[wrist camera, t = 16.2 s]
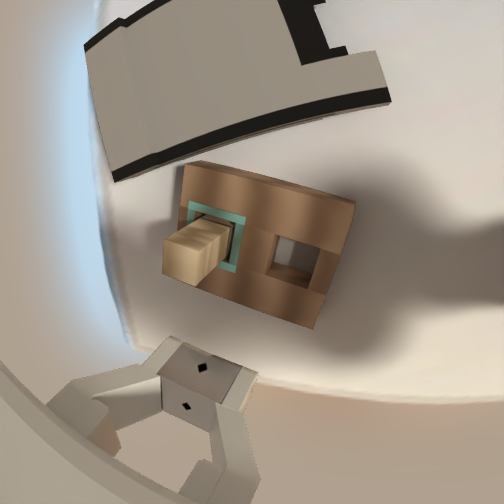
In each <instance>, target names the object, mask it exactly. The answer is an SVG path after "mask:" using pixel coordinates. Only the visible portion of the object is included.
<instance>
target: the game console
mask: <svg viewBox="0 0 504 504" xmlns="http://www.w3.org/2000/svg"><path fill="white" fill-rule="evenodd" d="M321 3H326V1H325V0H154V1H152V2H151V3H149V4H147V5H146V6H144V7H143V8H141V9H140V10H138V11H136V12H135V13H133V14H132V15H130V16H129V17H128V18H126V19H122V18H117V19H116V20H114V21H113V22H112V23H110V24H109V25H108V26H106V27H105V28H104V29H102V30H101V31H100V32H99V33H97V34H96V35H95V36H94V37H92V38H91V39H90V40H89V41H87V42H86V43H85V44H84V50H85V56H86V63H87V69H88V75H89V80H90V85H91V90H92V95H93V100H94V105H95V109H96V114H97V118H98V123H99V127H100V131H101V135H102V139H103V143H104V147H105V150H106V154H107V158H108V162H109V165H110V169H111V172H112V176H113V179H114V182H115V183H116V182H119V181H123V180H126V179H129V178H133V177H137V176H139V175H142V174H144V173H147V172H149V171H152V170H154V169H157V168H159V167H162V166H164V165H167V164H170V163H172V162H175V161H179V160H184V159H186V158H189V157H192V156H195V155H198V154H201V153H204V152H207V151H210V150H213V149H216V148H219V147H222V146H225V145H228V144H231V143H234V142H238V141H241V140H244V139H248V138H251V137H255V136H258V135H262V134H265V133H269V132H272V131H276V130H280V129H284V128H287V127H291V126H295V125H299V124H304V123H308V122H312V121H316V120H321V119H323V118H324V117H328V116H333V115H338V114H343V113H348V112H353V111H358V110H364V109H369V108H375V107H381V106H387V105H389V104H390V103H391V102H392V101H391V97H390V94H389V91H388V87H387V84H386V81H385V78H384V75H383V72H382V69H381V66H380V63H379V60H378V57H377V54H376V51H368V52H362V53H357V54H351V55H348V52H347V49H346V46H341V47H336V48H332V49H329V47H328V44H327V41H326V38H325V36H324V33H323V31H322V28H321V26H320V23H319V21H318V18H317V16H316V13H315V11H314V9H313V5H317V4H321Z"/></svg>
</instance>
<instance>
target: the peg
mask: <svg viewBox="0 0 504 504" xmlns="http://www.w3.org/2000/svg"><path fill="white" fill-rule="evenodd" d="M235 226H236V223H235V222H232V221H228V220H225V219H222V218H218V217H215V216H212V215H208V214H206V215H205V216H203V217H200V218H199V219H198V220H196V221H194V222H192V223H191V224H189V225H187V226H186V227H184V228H182V229H181V230H179V231H177V232H176V233H174V234H172V235H170V236H169V237H167V238H165V239H164V249H163V267H162V274H165V275H167V276H169V277H172V278H174V279H177V280H179V281H182V282H185V283H187V284H190V285H192V286H196V285H197V284H198V283H199V282H200V281H201V280H202V279H203V278H204V277H205V276H206V275H208V274H209V273H210V272H211V271H212V270H213V269H214V268H215V267H216V266H217V265H218V264H219V263H220V262H221V261H222V260H223V259H224V258H226V257H227V255H228V254H229V253H231V248H232V243H233V237H234V232H235Z"/></svg>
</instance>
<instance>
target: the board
mask: <svg viewBox="0 0 504 504" xmlns="http://www.w3.org/2000/svg"><path fill="white" fill-rule="evenodd" d="M354 212H355V202H354V201H351V200H348V199H345V198H341V197H338V196H335V195H332V194H328V193H325V192H322V191H318V190H315V189H312V188H308V187H305V186H301V185H298V184H294V183H291V182H287V181H283V180H280V179H276V178H272V177H268V176H264V175H261V174H257V173H253V172H249V171H245V170H241V169H236V168H232V167H228V166H224V165H220V164H215V163H211V162H206V161H202V160H200V161H196V162H191V163H187V164H185V168H184V175H183V183H182V192H181V200H180V210H179V219H178V230H177V231H179V230H181V229H182V228H184V227H186V226H187V225H189V224H191V223H192V222H194V221H196V220H198V219H199V218H200V217H203V216H205V215H206V214H208V215H212V216H215V217H218V218H222V219H225V220H228V221H232V222H235V223H236V226H235V232H234V237H233V243H232V248H231V253H229V254H228V255H227V257H226V258H224V259H223V260H222V261H221V262H220V263H219V264H218V265H217V266H216V267H215V268H214V269H213V270H212V271H211V272H210V273H209V274H208V275H206V276H205V277H204V278H203V279H202V280H201V281H200V282H199V283H198V284H197V285H196V286H194V287H196V288H199V289H202V290H204V291H207V292H209V293H212V294H215V295H217V296H220V297H223V298H225V299H228V300H231V301H233V302H236V303H239V304H241V305H244V306H247V307H250V308H252V309H255V310H258V311H261V312H263V313H266V314H269V315H272V316H275V317H278V318H281V319H283V320H286V321H289V322H292V323H295V324H298V325H301V326H304V327H307V328H310V329H313V328H314V326H315V323H316V320H317V318H318V315H319V313H320V310H321V308H322V305H323V302H324V300H325V297H326V294H327V292H328V289H329V286H330V283H331V281H332V278H333V275H334V272H335V269H336V267H337V264H338V261H339V258H340V255H341V252H342V249H343V246H344V243H345V240H346V237H347V234H348V231H349V228H350V224H351V221H352V218H353V215H354ZM280 236H283V237H286V238H289V239H292V240H295V241H298V242H302V243H305V244H308V245H311V246H314V247H317V248H320V253H319V256H318V259H317V262H316V265H315V268H314V272H313V275H312V274H309V273H306V272H303V271H300V270H297V269H294V268H291V267H288V266H285V265H282V264H278V263H275V262H274V258H275V254H276V250H277V246H278V242H279V238H280ZM176 280H177V279H176ZM181 282H182V281H181ZM184 283H185V282H184ZM186 284H187V283H186ZM189 285H190V284H189ZM191 286H192V285H191Z"/></svg>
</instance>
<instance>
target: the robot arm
mask: <svg viewBox="0 0 504 504" xmlns="http://www.w3.org/2000/svg"><path fill="white" fill-rule="evenodd" d="M258 373H259V372H256V371H254V370H251V369H248V368H246V367H243V366H241V365H238V364H236V363H233V362H230V361H228V360H225V359H223V358H220V357H218V356H215V355H212V354H210V353H207V352H205V351H203V350H201V349H199V348H197V347H194V346H192V345H190V344H188V343H186V342H183V341H181V340H179V339H177V338H175V337H173V336H170V337H168V338H166V339H165V341H164V342H163V343H162V344H161V345H160V346H159V347H158V348H157V349H156V350H155V351H154V352H153V353H152V355H151V356H150V357H149V358H148V359H147V360H146V361H145V362H144V363H143V364H142V365H141V366H140V365H138V364H135V365H131V366H127V367H124V368H120V369H116V370H112V371H108V372H104V373H100V374H96V375H92V376H87V377H83V378H79V379H74V380H72V381H70V382H69V383H68V384H67V385H66V386H65V387H64V388H63V389H62V390H61V391H60V392H59V393H58V394H56V395H55V396H54V397H53V398H52V399H51V400H50V401H49V402H48V403H47V404H46V405H44V404H43V403H42V402H41V401H40V400H39V399H38V398H37V397H35V396H34V395H33V393H31V392H30V391H29V390H28V389H27V388H26V387H25V386H24V385H23V384H22V383H21V382H20V381H19V380H18V379H17V378H16V377H15V376H14V375H13V373H12V372H11V371H10V370H9V369H8V368H7V367H6V366H5V365H4V364H3V363H2V362H1V361H0V504H250V503H251V501H252V499H253V496H254V494H255V492H256V489H257V487H258V485H259V482H260V476H259V472H258V468H257V464H256V460H255V456H254V452H253V448H252V444H251V440H250V436H249V432H248V428H247V424H246V420H245V416H244V412H245V409H246V407H247V405H248V402H249V400H250V397H251V395H252V392H253V389H254V386H255V383H256V380H257V377H258ZM162 410H163V411H165V412H167V413H169V414H171V415H173V416H175V417H178V418H180V419H182V420H185V421H186V422H188V423H190V424H192V425H195V426H196V427H198V428H201V429H203V430H205V431H207V432H209V433H210V442H211V451H212V459H213V462H210V461H208V460H205V459H203V460H199V461H198V462H197V463H196V465H195V467H194V469H193V470H192V472H191V473H190V475H189V477H188V478H187V480H186V481H185V483H184V485H183V486H182V488H181V489H180V491H179V492H178V493H176V492H174V491H172V490H170V489H168V488H166V487H164V486H162V485H160V484H158V483H156V482H154V481H153V480H151V479H149V478H147V477H145V476H144V475H142V474H140V473H138V472H137V471H135V470H133V469H131V468H130V467H128V466H126V465H125V464H123V463H122V462H120V461H118V460H117V459H115V458H114V457H115V455H116V454H117V453H118V451H119V450H120V449H121V446H120V442H119V439H118V436H117V433H116V431H117V430H119V429H121V428H124V427H127V426H129V425H131V424H134V423H136V422H138V421H141V420H143V419H146V418H148V417H150V416H152V415H155V414H157V413H159V412H161V411H162Z"/></svg>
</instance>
